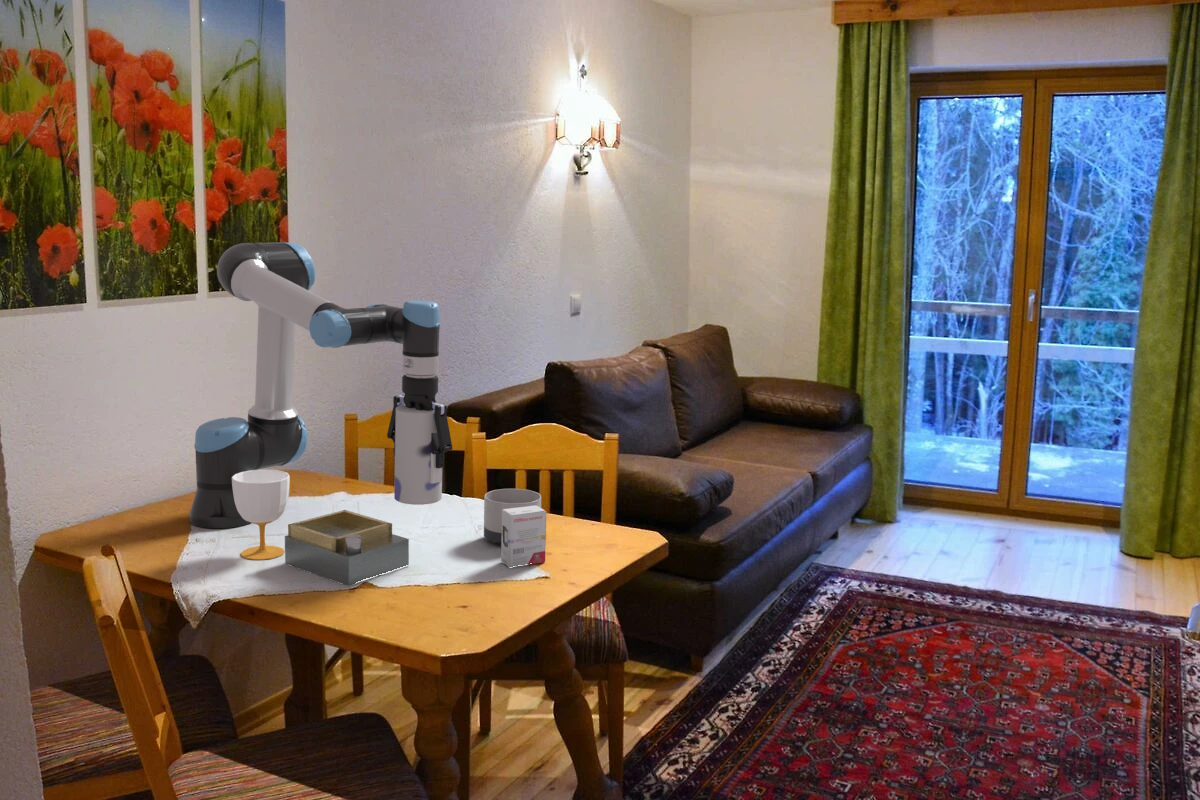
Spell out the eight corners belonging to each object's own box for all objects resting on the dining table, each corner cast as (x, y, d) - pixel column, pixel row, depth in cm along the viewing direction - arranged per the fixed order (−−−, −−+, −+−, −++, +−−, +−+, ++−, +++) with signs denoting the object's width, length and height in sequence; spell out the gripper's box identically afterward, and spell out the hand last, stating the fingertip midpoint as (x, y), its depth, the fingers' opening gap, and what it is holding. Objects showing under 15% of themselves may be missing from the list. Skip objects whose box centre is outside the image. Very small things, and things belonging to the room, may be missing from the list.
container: (432, 507, 230) (434, 414, 226) (387, 502, 232) (388, 409, 228) (447, 495, 239) (450, 405, 236) (404, 490, 241) (406, 401, 237)
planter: (551, 538, 252) (552, 494, 250) (519, 553, 241) (520, 507, 239) (505, 528, 258) (506, 485, 256) (472, 542, 247) (472, 497, 245)
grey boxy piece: (285, 563, 229) (284, 522, 227) (345, 546, 241) (345, 506, 240) (348, 586, 217) (348, 542, 215) (408, 566, 230) (408, 525, 228)
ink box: (536, 556, 239) (537, 504, 237) (546, 563, 234) (547, 510, 232) (499, 561, 234) (500, 508, 232) (509, 569, 230) (510, 514, 228)
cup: (264, 541, 243) (262, 466, 240) (302, 551, 237) (301, 474, 234) (221, 555, 233) (219, 477, 230) (260, 566, 227) (258, 486, 224)
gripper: (370, 369, 234) (369, 470, 238) (446, 384, 221) (443, 491, 225) (396, 365, 240) (395, 464, 244) (471, 380, 227) (469, 484, 231)
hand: (418, 477), depth 235 cm, fingers closed on container, 10 cm apart
